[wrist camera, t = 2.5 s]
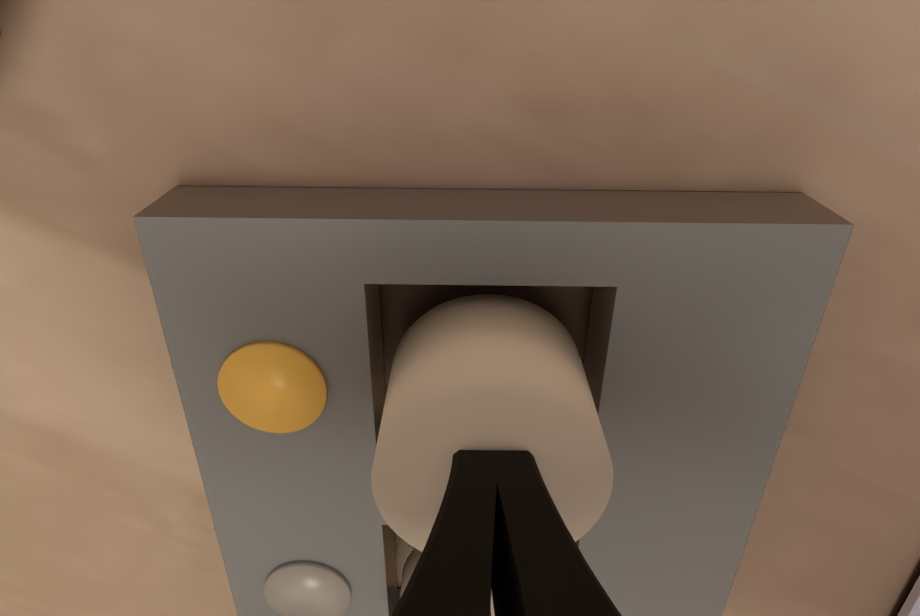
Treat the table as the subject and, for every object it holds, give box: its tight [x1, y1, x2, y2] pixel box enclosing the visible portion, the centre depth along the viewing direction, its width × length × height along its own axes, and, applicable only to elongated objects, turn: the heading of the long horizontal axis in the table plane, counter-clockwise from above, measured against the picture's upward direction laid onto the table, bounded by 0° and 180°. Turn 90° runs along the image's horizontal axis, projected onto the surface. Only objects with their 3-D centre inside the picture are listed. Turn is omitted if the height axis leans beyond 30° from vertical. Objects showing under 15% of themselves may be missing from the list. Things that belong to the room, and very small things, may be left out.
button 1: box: [371, 294, 614, 552], centre depth 13 cm, size 4×4×3 cm
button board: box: [133, 186, 853, 616], centre depth 18 cm, size 14×22×2 cm, turn 0°
